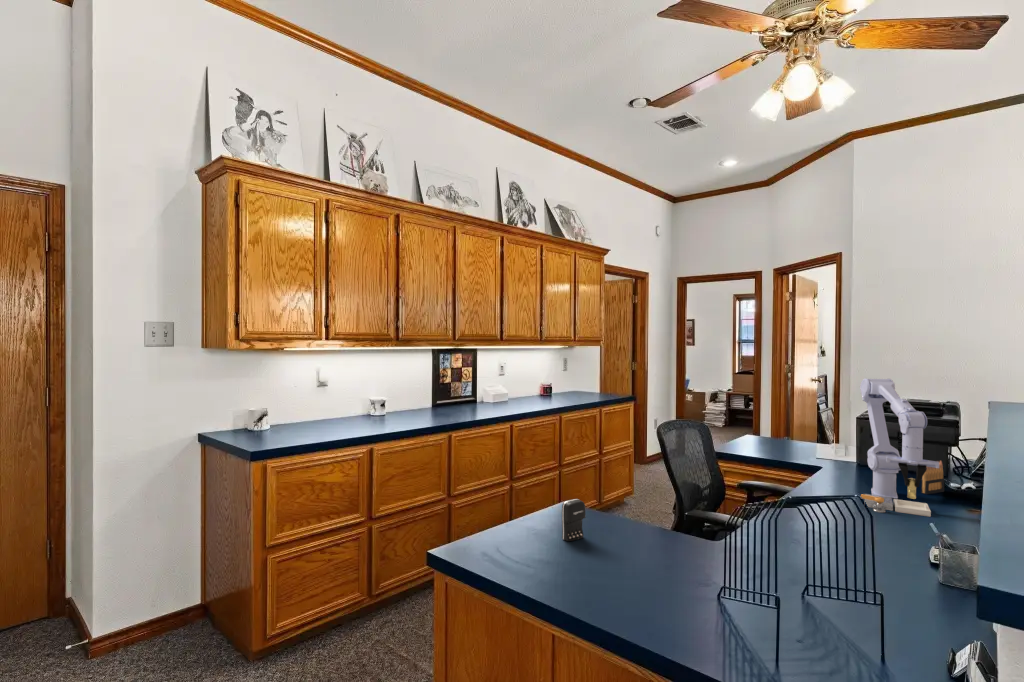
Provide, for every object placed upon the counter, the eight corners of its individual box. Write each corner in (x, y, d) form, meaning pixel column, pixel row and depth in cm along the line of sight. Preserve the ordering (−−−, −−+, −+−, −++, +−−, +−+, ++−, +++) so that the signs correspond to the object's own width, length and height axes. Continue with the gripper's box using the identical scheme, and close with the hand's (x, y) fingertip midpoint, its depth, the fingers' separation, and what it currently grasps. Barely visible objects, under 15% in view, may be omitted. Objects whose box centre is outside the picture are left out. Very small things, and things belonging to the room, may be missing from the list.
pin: (907, 496, 188) (907, 477, 188) (915, 497, 187) (915, 478, 187) (907, 498, 186) (908, 479, 186) (916, 499, 185) (916, 480, 185)
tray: (893, 504, 194) (893, 499, 194) (927, 508, 189) (927, 503, 188) (895, 511, 185) (895, 506, 185) (930, 516, 180) (930, 511, 180)
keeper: (884, 501, 186) (884, 497, 186) (882, 502, 184) (882, 499, 184) (862, 496, 191) (862, 493, 191) (860, 498, 189) (860, 495, 189)
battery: (569, 543, 158) (569, 504, 158) (561, 539, 161) (561, 501, 161) (587, 538, 162) (587, 500, 161) (579, 534, 165) (579, 497, 165)
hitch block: (864, 500, 198) (864, 491, 197) (891, 504, 193) (891, 495, 193) (865, 510, 187) (865, 501, 187) (893, 514, 182) (893, 505, 182)
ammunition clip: (925, 494, 205) (926, 463, 205) (920, 493, 207) (921, 461, 206) (944, 491, 209) (945, 460, 208) (939, 490, 210) (939, 459, 210)
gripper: (887, 446, 187) (887, 485, 187) (940, 451, 179) (940, 492, 180) (886, 442, 193) (885, 480, 193) (937, 447, 185) (937, 486, 186)
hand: (911, 485), depth 187 cm, fingers closed on pin, 2 cm apart
